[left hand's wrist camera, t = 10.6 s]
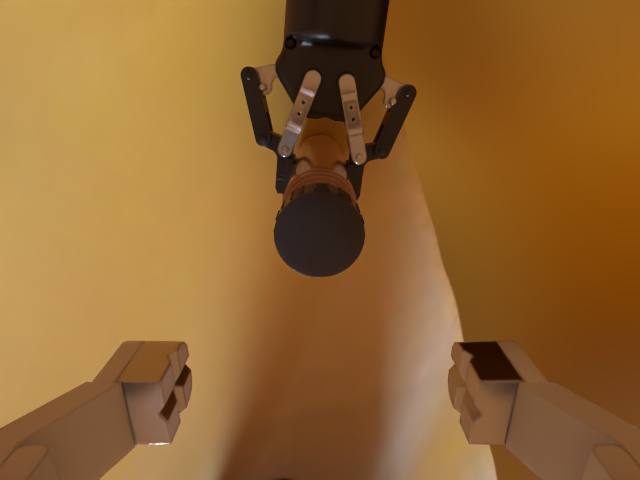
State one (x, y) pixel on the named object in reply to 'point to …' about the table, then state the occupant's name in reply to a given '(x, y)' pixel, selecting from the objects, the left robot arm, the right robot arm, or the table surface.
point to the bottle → (319, 166)
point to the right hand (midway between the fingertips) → (317, 200)
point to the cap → (319, 230)
